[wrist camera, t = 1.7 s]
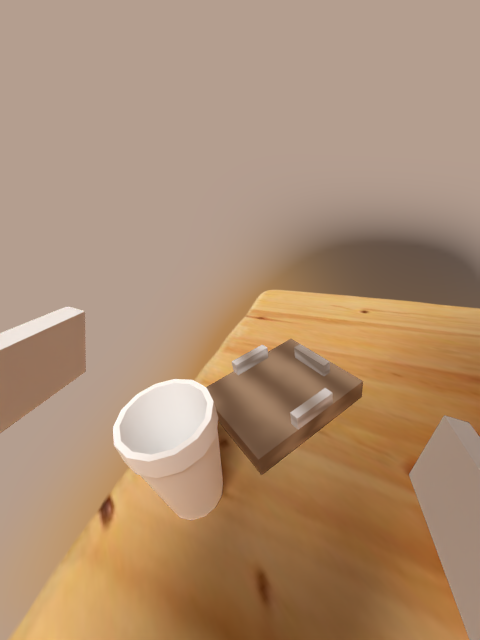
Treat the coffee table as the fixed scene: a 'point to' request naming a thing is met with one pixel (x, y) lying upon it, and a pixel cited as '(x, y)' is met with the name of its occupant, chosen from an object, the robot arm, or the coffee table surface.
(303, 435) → the shelf
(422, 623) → the coffee table surface
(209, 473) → the foam cup
